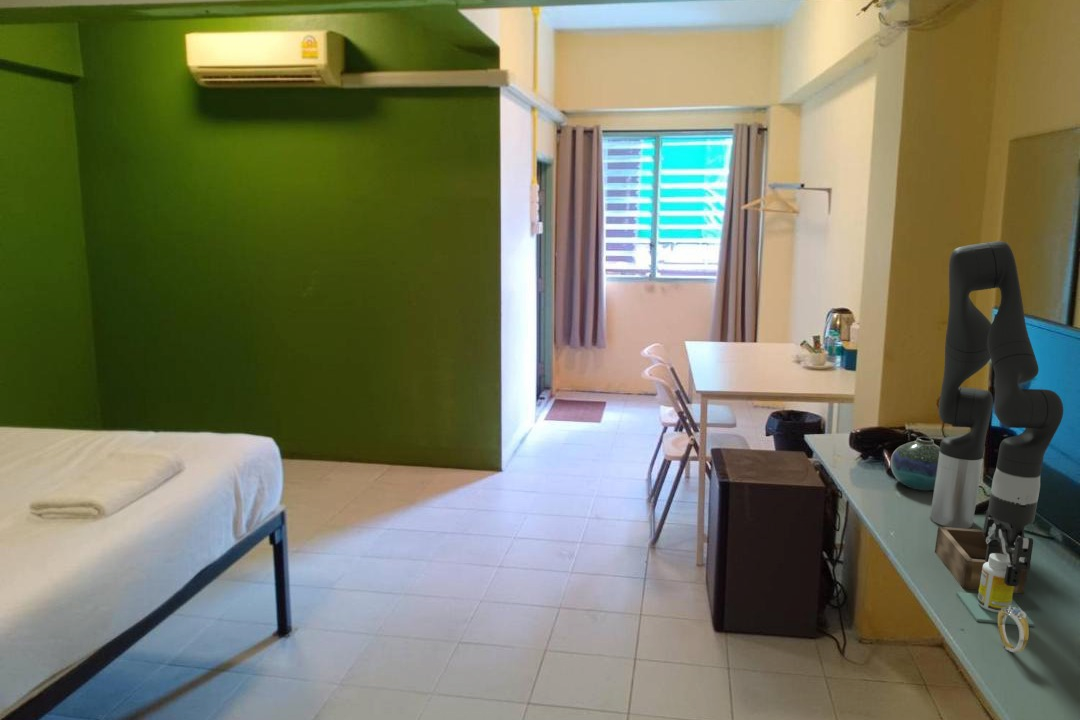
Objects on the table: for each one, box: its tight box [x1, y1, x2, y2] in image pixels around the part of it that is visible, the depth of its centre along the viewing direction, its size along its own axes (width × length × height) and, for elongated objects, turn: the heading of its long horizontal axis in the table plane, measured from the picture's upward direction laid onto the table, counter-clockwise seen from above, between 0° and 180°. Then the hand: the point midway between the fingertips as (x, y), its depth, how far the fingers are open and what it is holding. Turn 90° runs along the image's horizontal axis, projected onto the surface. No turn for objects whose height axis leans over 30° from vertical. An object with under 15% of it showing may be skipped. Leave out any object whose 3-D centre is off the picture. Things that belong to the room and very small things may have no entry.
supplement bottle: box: [977, 553, 1014, 613], centre depth 150 cm, size 6×6×10 cm
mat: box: [955, 591, 1035, 627], centre depth 151 cm, size 10×10×1 cm
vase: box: [890, 436, 940, 491], centre depth 212 cm, size 15×15×13 cm
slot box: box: [934, 526, 1029, 594], centre depth 166 cm, size 16×11×6 cm
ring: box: [997, 605, 1030, 653], centre depth 137 cm, size 7×3×8 cm, turn 175°
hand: (1001, 573), depth 150 cm, fingers open, 8 cm apart
